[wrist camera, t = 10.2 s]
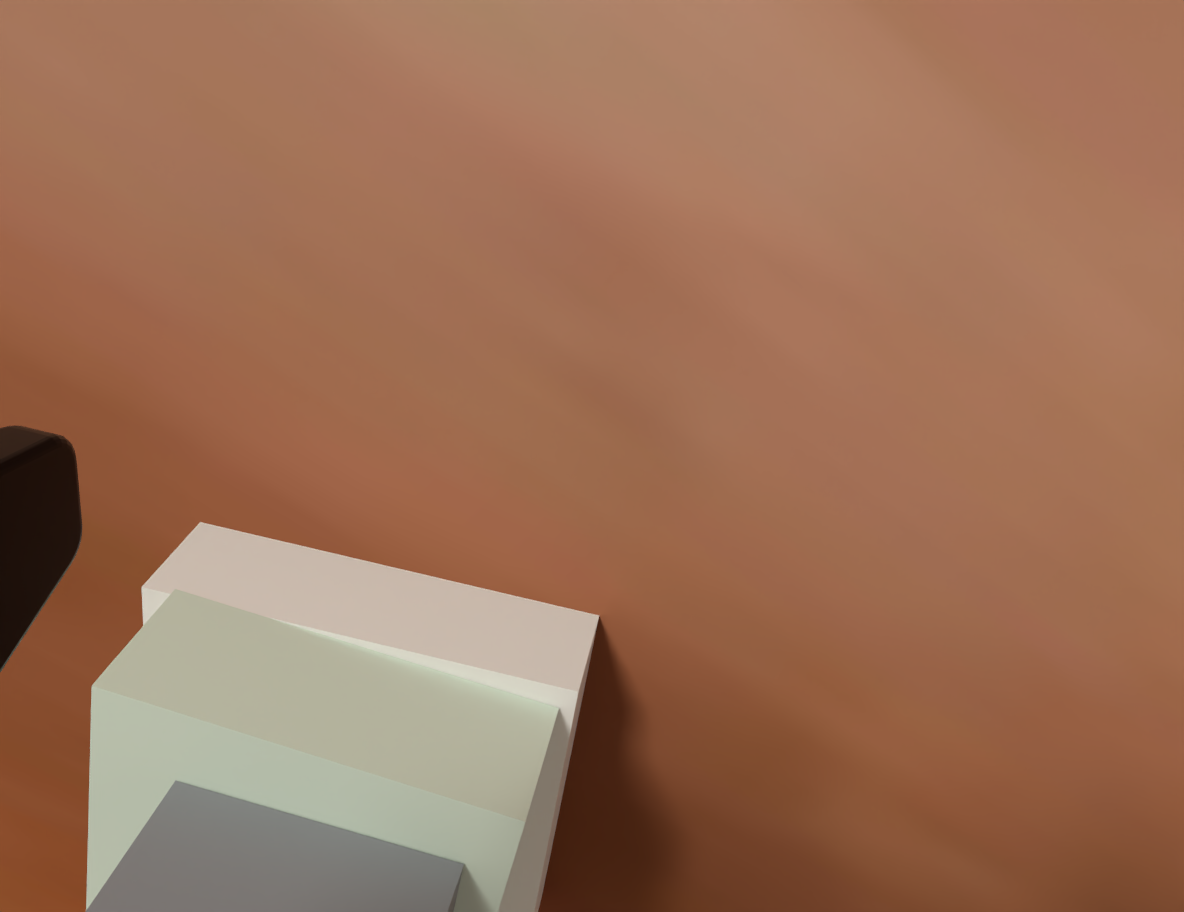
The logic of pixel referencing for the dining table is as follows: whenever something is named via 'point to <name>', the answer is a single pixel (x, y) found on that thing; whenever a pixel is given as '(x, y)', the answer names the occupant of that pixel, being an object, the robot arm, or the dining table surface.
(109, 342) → the dining table surface
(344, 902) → the gray block
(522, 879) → the tower bottom block
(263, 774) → the tower top block
